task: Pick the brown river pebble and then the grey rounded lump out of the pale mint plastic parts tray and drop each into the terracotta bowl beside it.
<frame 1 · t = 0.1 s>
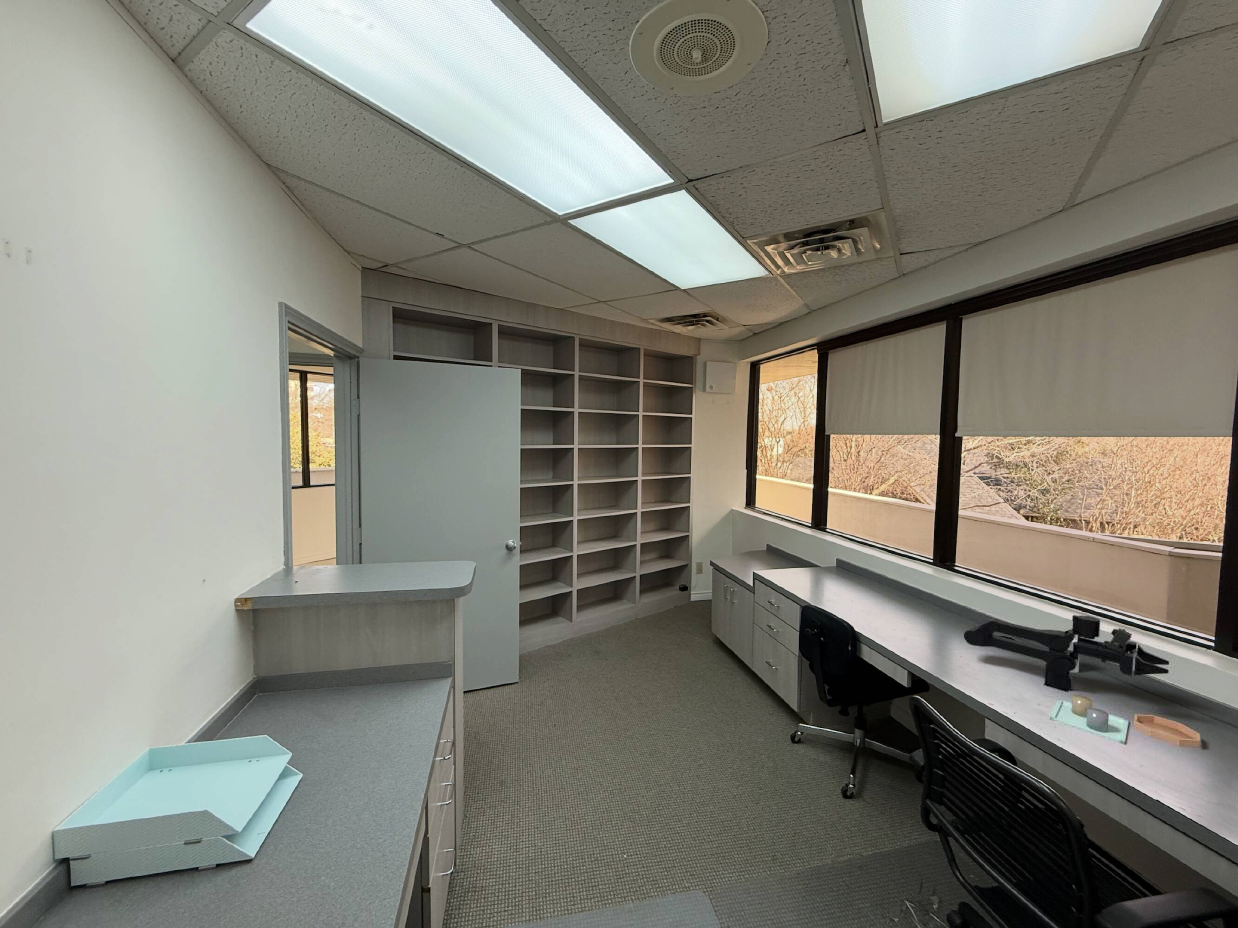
hand: (1168, 667, 150), 17 cm above the table, tool horizontal, fingers open, 9 cm apart
parts tray: (1088, 722, 148), on the table
grey rounded lump: (1096, 727, 144), point 1 cm above the table, touching parts tray
dish: (1165, 734, 142), on the table
skincare box: (1066, 669, 185), on the table
river pebble: (1081, 713, 152), point 1 cm above the table, touching parts tray
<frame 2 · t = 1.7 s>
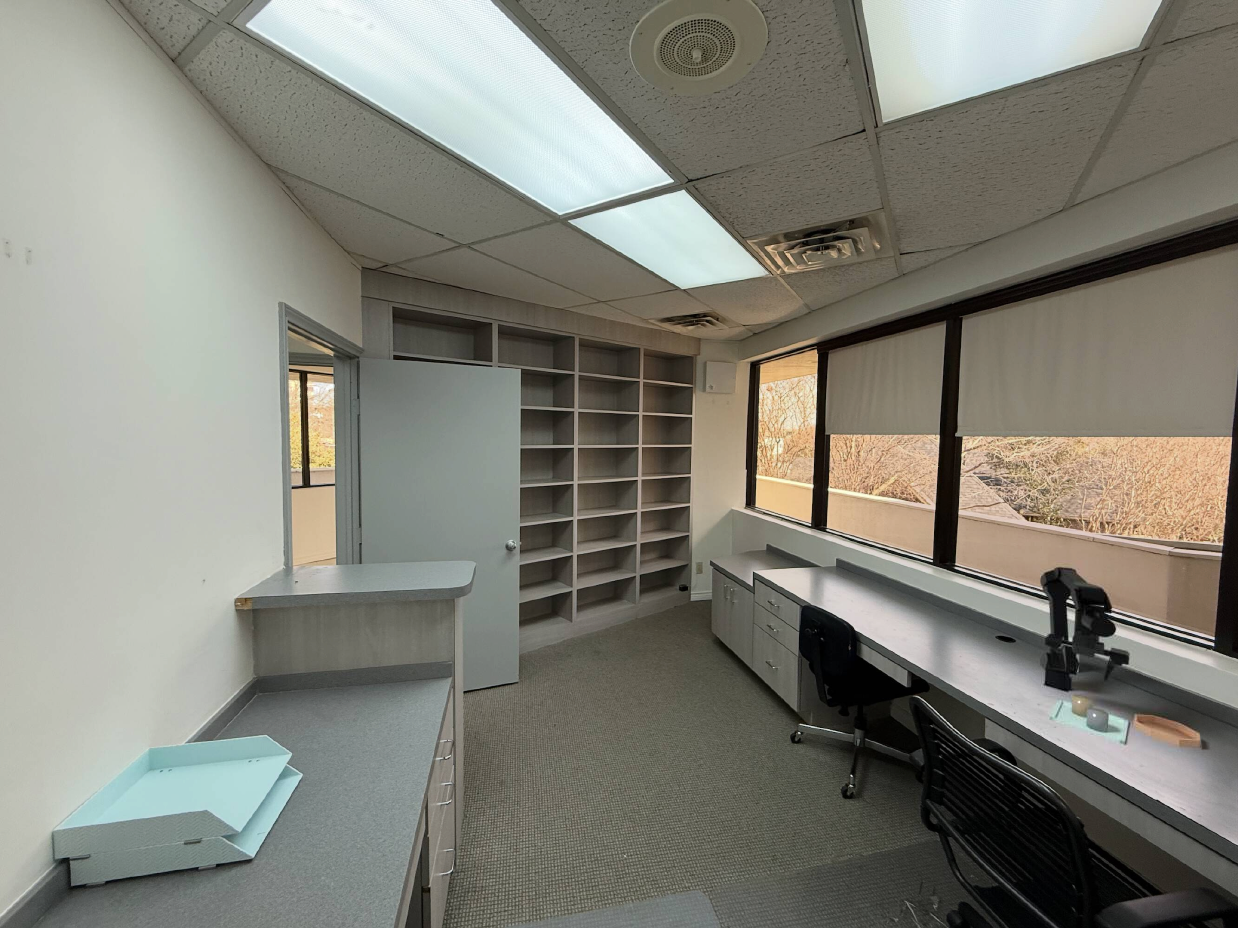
hand: (1084, 675, 151), 13 cm above the table, tool pointing down, fingers open, 9 cm apart
nothing on the table moved.
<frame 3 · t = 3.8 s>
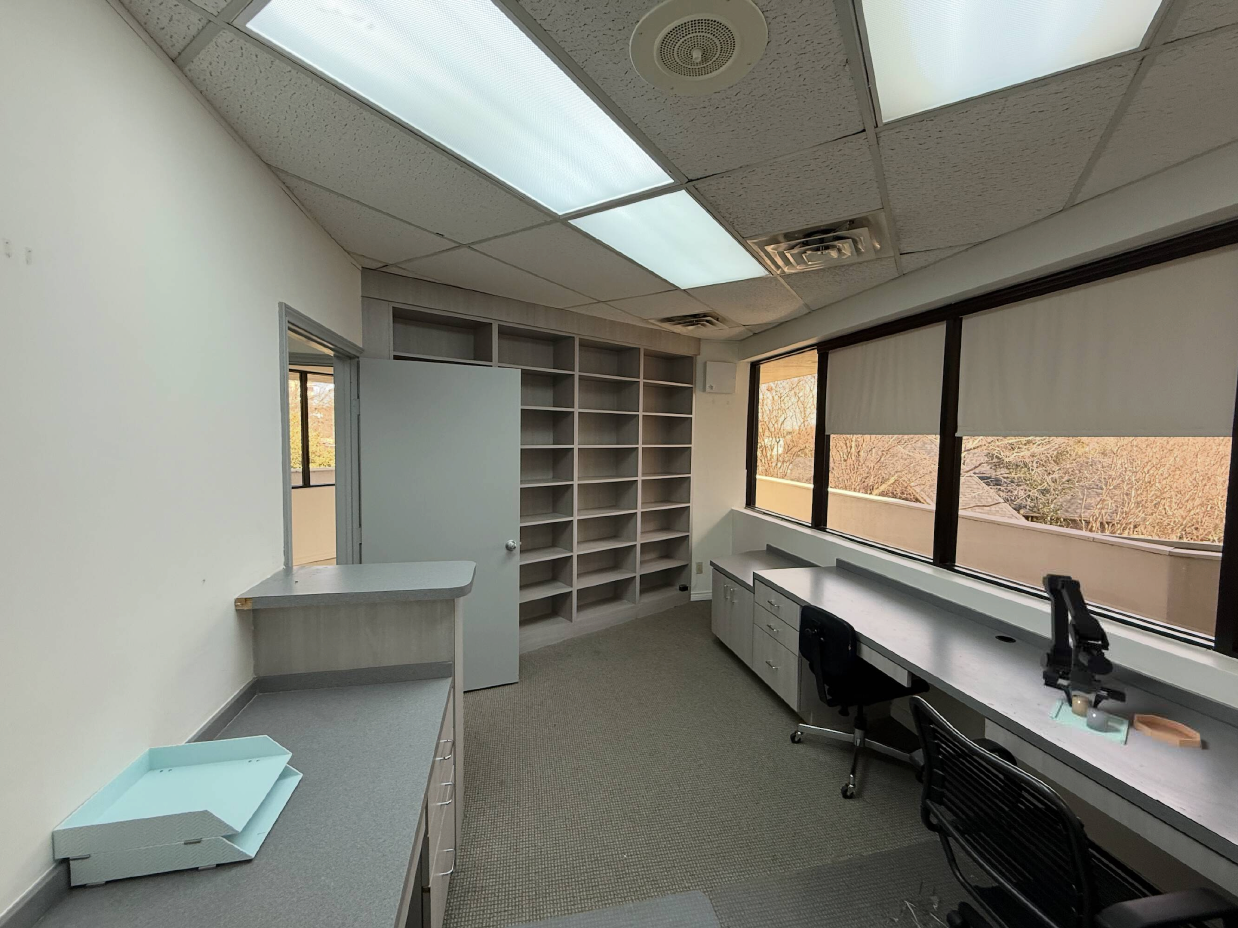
hand: (1081, 710, 152), 2 cm above the table, tool pointing down, fingers closed on river pebble, 5 cm apart
river pebble: (1081, 713, 152), point 1 cm above the table, touching gripper, parts tray
everything else where it was.
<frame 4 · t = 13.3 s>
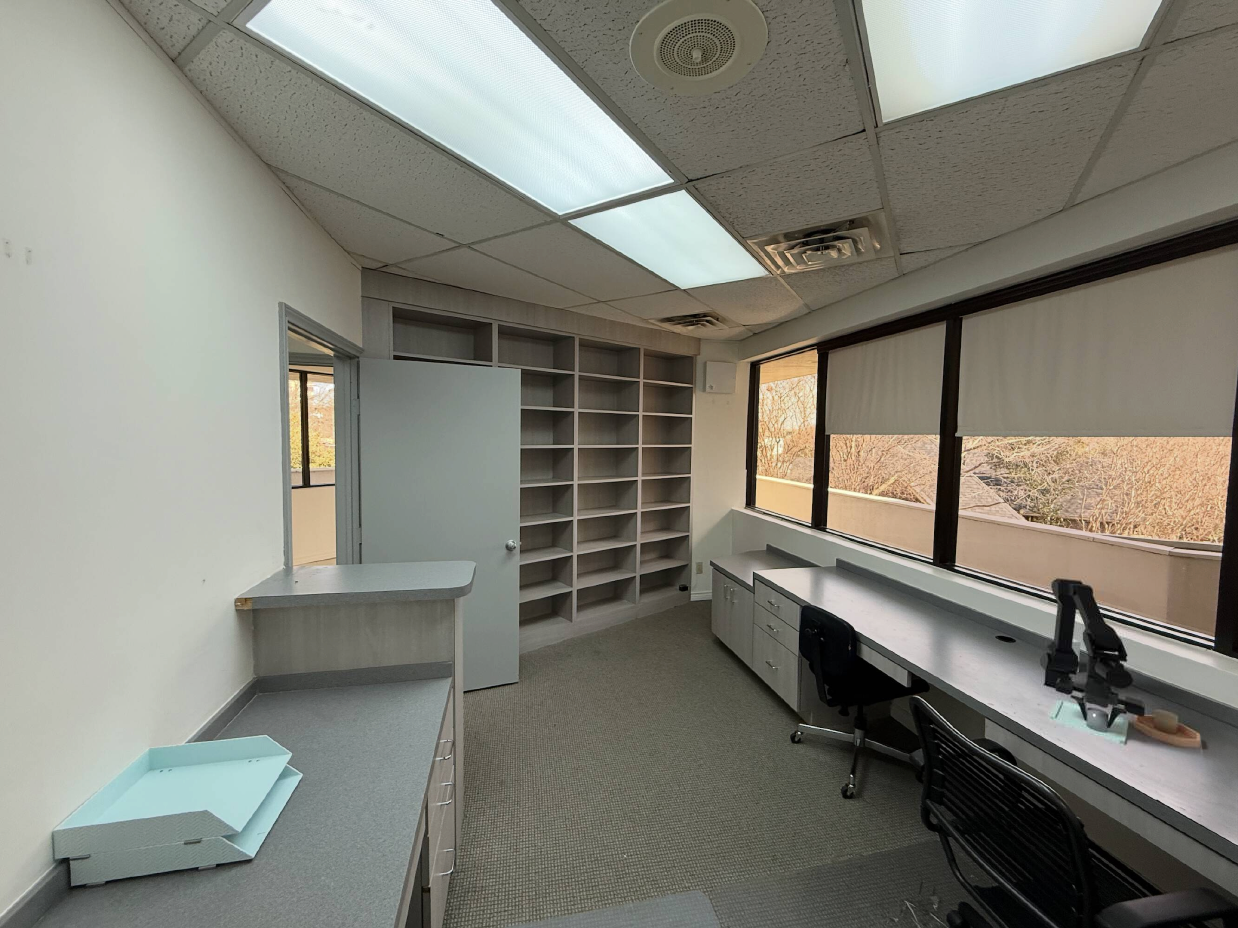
hand: (1097, 723, 144), 2 cm above the table, tool pointing down, fingers closed on grey rounded lump, 5 cm apart
grey rounded lump: (1096, 727, 144), point 1 cm above the table, touching gripper, parts tray
river pebble: (1165, 729, 144), point 1 cm above the table, touching dish
everything else where it was.
when the fingers open (3 cm above the table, at t = 17.4 s): grey rounded lump drops 1 cm, resting on dish.
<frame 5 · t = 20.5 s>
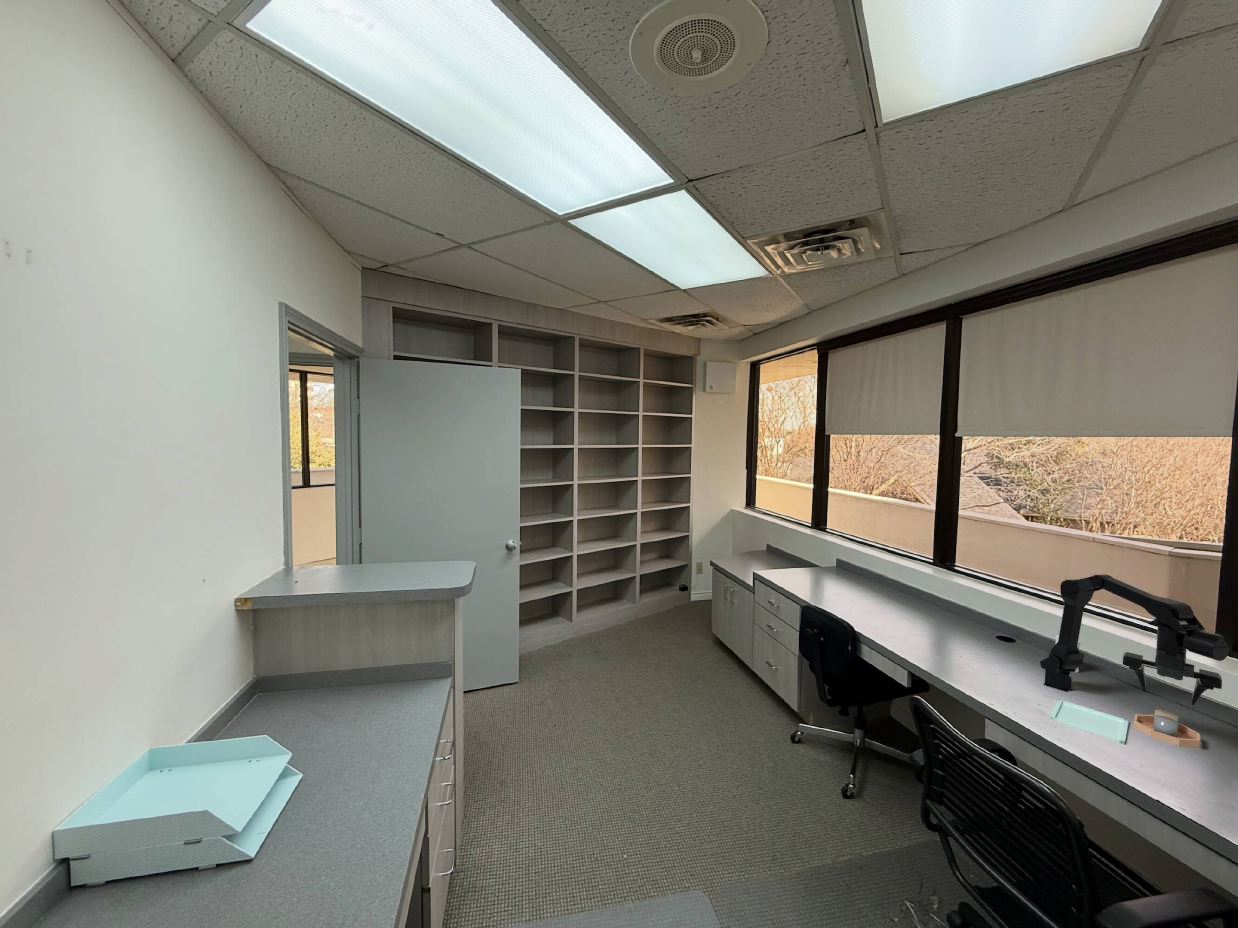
hand: (1168, 698, 140), 12 cm above the table, tool pointing down, fingers open, 9 cm apart
grey rounded lump: (1165, 736, 141), point 1 cm above the table, touching dish
everything else where it was.
at the end: river pebble 2.4 cm from the dish (horizontally); grey rounded lump 2.6 cm from the dish (horizontally); the gripper is holding nothing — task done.
